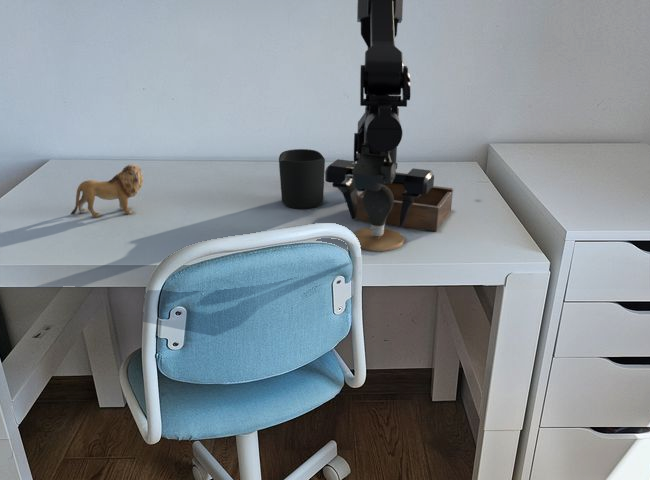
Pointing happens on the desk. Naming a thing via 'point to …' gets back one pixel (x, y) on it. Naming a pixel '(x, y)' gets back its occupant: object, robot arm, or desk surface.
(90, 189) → the lion figurine
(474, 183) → the desk surface
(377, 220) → the light bulb
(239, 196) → the desk surface
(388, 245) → the coaster
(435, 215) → the wooden cubby shelf
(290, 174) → the pen holder
